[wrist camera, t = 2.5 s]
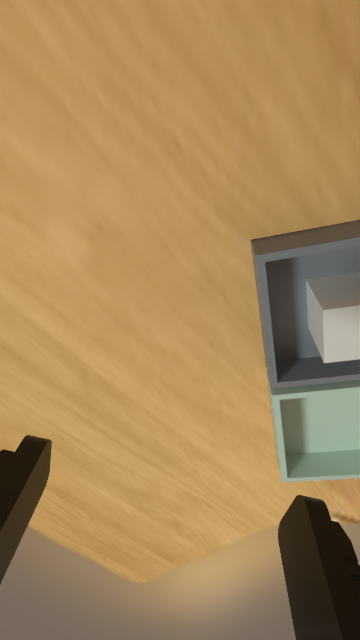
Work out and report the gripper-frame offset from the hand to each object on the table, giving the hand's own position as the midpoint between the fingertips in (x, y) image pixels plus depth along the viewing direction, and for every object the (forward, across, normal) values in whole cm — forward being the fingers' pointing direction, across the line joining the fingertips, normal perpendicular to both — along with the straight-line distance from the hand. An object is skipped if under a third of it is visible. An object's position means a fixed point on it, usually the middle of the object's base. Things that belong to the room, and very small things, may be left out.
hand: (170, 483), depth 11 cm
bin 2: (+20, -18, +11) cm, 29 cm away
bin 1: (+20, -12, -1) cm, 23 cm away
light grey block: (+19, -12, -1) cm, 22 cm away
